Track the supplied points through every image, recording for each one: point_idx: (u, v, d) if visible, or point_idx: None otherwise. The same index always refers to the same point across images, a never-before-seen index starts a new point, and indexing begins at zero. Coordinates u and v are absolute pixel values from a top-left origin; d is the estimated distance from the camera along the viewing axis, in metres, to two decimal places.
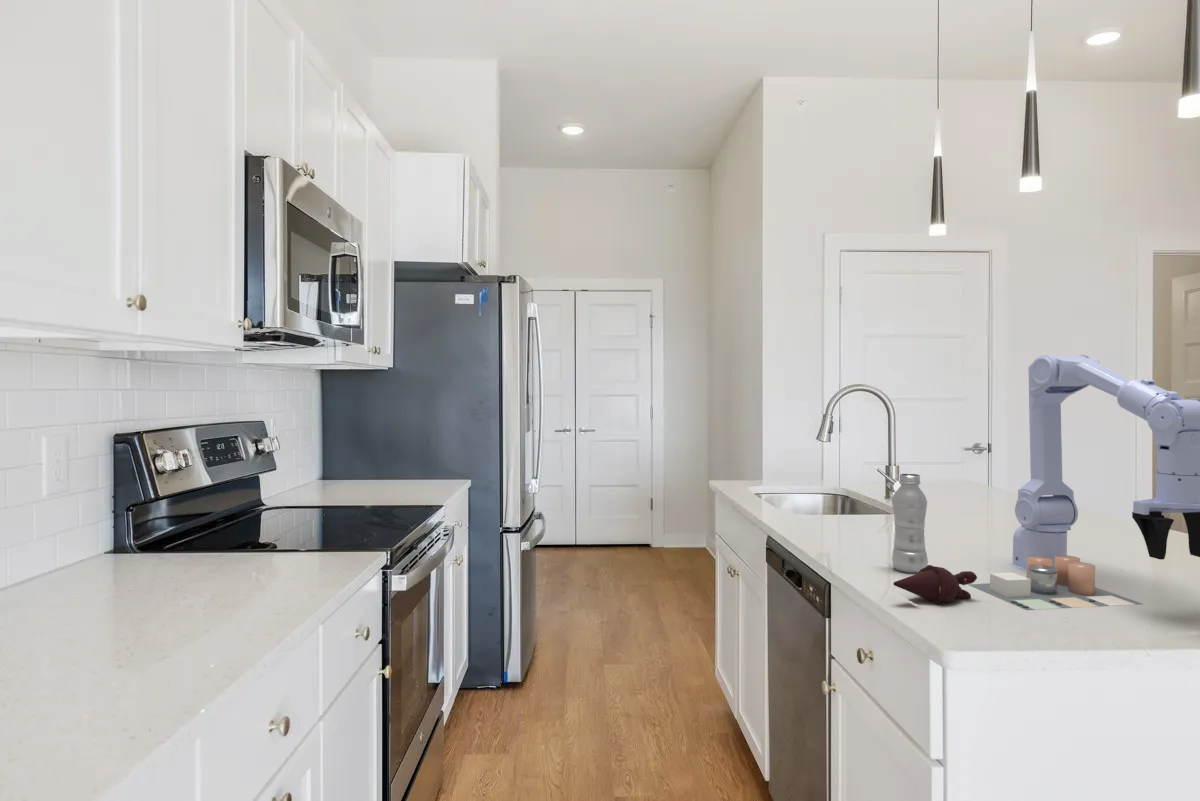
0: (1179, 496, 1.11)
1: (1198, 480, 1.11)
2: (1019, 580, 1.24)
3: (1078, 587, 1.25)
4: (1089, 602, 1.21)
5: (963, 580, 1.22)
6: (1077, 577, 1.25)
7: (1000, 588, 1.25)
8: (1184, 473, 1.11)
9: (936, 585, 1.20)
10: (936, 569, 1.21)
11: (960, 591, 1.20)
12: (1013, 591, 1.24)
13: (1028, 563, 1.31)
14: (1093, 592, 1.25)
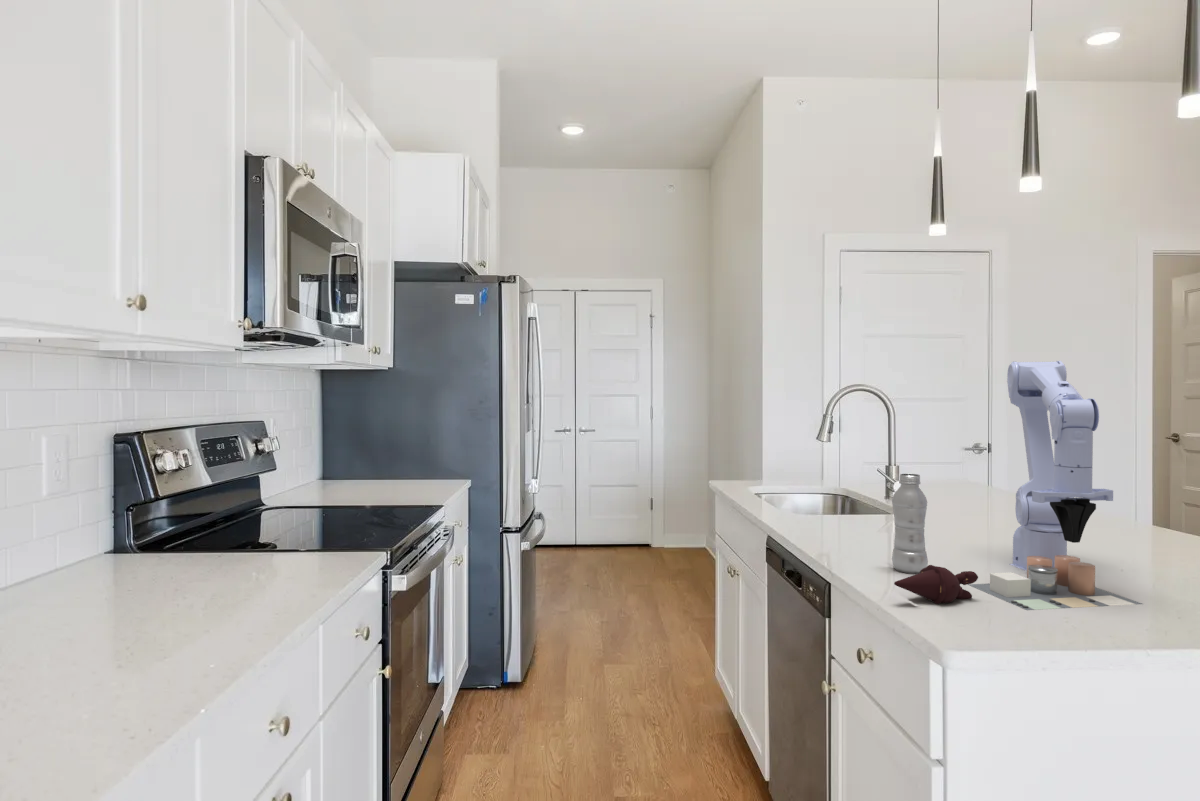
0: (1071, 486, 1.23)
1: (1088, 472, 1.23)
2: (1019, 580, 1.24)
3: (1078, 587, 1.25)
4: (1089, 602, 1.21)
5: (964, 580, 1.22)
6: (1077, 577, 1.25)
7: (1000, 588, 1.25)
8: (1067, 465, 1.24)
9: (937, 585, 1.20)
10: (937, 569, 1.21)
11: (961, 591, 1.20)
12: (1013, 591, 1.24)
13: (1028, 563, 1.31)
14: (1093, 592, 1.25)
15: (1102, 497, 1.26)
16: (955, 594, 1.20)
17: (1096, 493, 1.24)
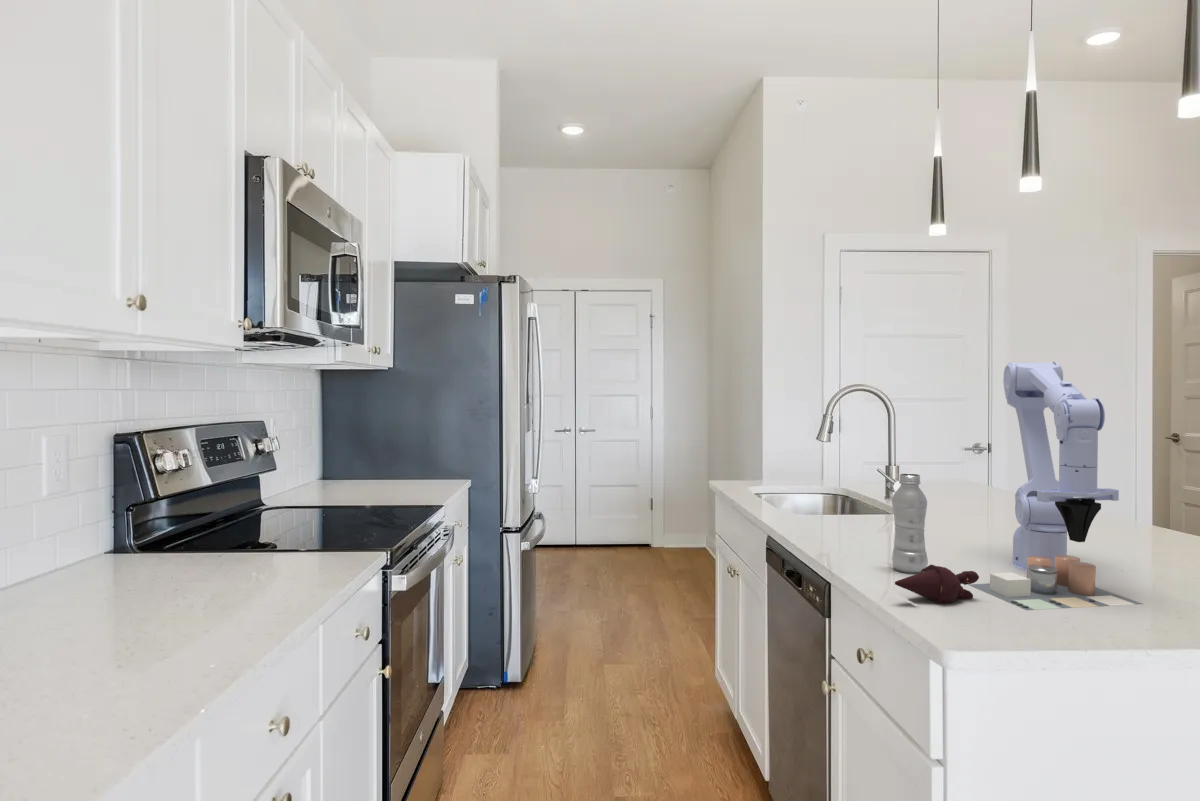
0: (1076, 486, 1.24)
1: (1093, 471, 1.23)
2: (1019, 580, 1.24)
3: (1078, 587, 1.25)
4: (1089, 602, 1.21)
5: (965, 580, 1.22)
6: (1077, 577, 1.25)
7: (1000, 588, 1.25)
8: (1073, 465, 1.24)
9: (937, 584, 1.20)
10: (937, 569, 1.21)
11: (962, 591, 1.21)
12: (1013, 591, 1.24)
13: (1028, 563, 1.31)
14: (1093, 592, 1.25)
15: (1107, 497, 1.27)
16: (956, 594, 1.20)
17: (1101, 493, 1.24)
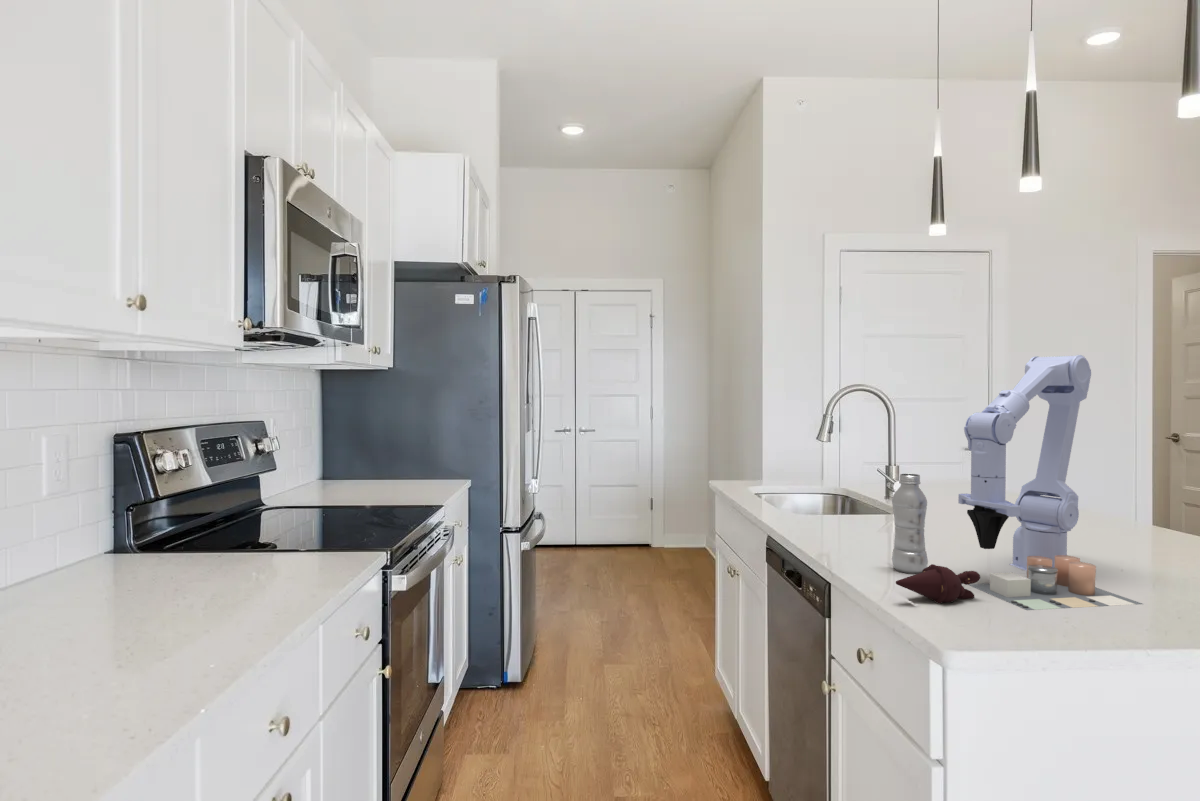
0: None
1: (976, 480, 1.31)
2: (1019, 580, 1.24)
3: (1079, 587, 1.25)
4: (1089, 602, 1.21)
5: (966, 580, 1.22)
6: (1078, 577, 1.25)
7: (1000, 588, 1.25)
8: (972, 474, 1.32)
9: (938, 584, 1.20)
10: (939, 568, 1.21)
11: (963, 590, 1.21)
12: (1013, 591, 1.24)
13: (1028, 563, 1.31)
14: (1093, 592, 1.25)
15: None
16: (957, 594, 1.20)
17: (986, 503, 1.29)
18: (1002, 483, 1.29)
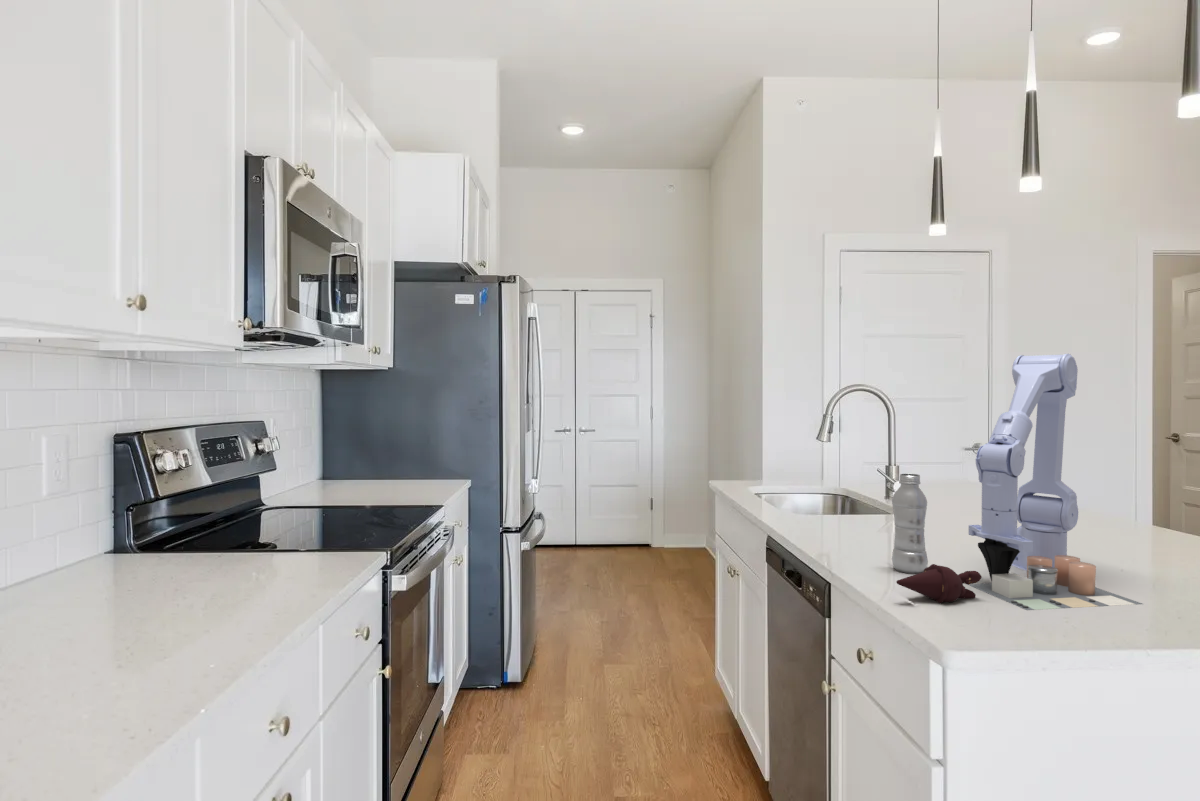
0: None
1: (987, 513, 1.28)
2: (1021, 581, 1.23)
3: (1079, 587, 1.25)
4: (1089, 602, 1.21)
5: (967, 579, 1.22)
6: (1078, 577, 1.25)
7: (1002, 588, 1.25)
8: (984, 507, 1.29)
9: (939, 584, 1.20)
10: (939, 568, 1.22)
11: (964, 590, 1.21)
12: (1015, 592, 1.23)
13: (1028, 563, 1.31)
14: (1093, 592, 1.25)
15: None
16: (957, 593, 1.20)
17: (997, 537, 1.26)
18: (1014, 516, 1.26)
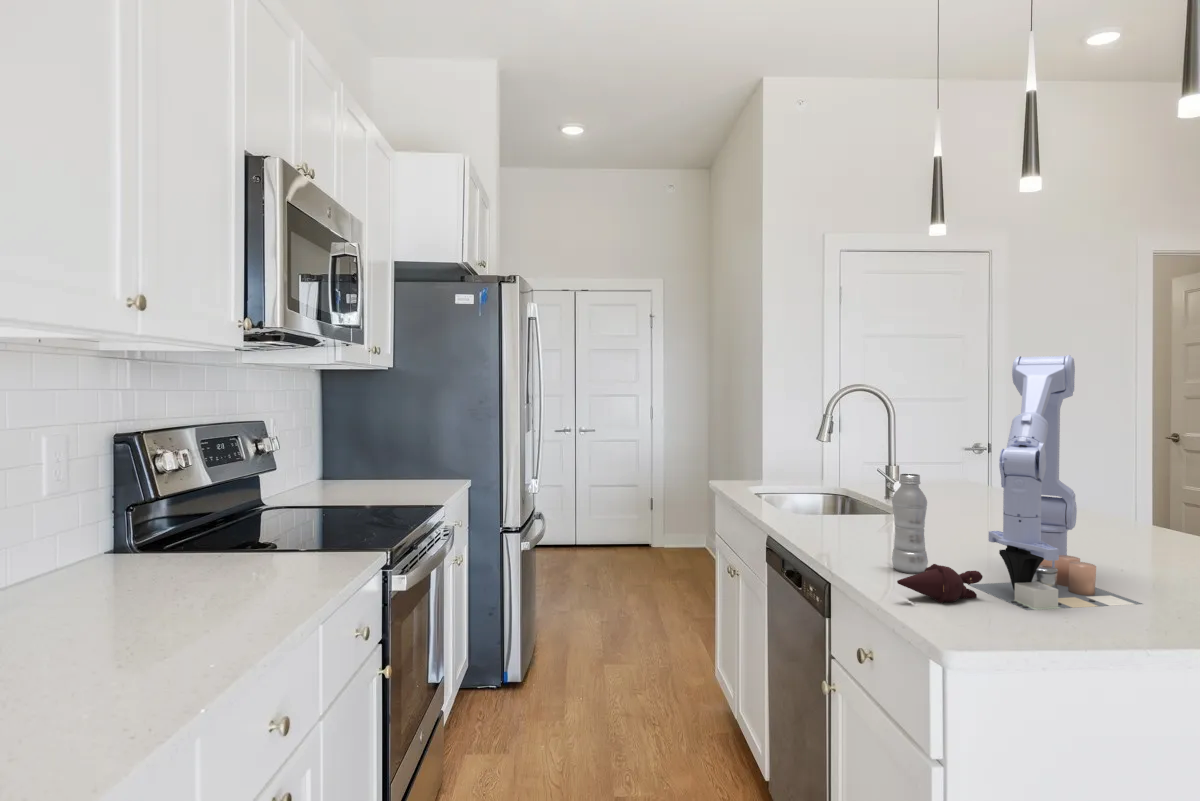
0: None
1: (1009, 519, 1.22)
2: (1046, 590, 1.18)
3: (1080, 587, 1.25)
4: (1089, 602, 1.21)
5: (968, 579, 1.22)
6: (1079, 577, 1.25)
7: (1026, 598, 1.19)
8: (1009, 513, 1.22)
9: (940, 584, 1.20)
10: (940, 568, 1.22)
11: (965, 590, 1.21)
12: (1039, 602, 1.18)
13: None
14: (1094, 592, 1.25)
15: None
16: (958, 593, 1.20)
17: (1020, 544, 1.20)
18: (1038, 523, 1.21)
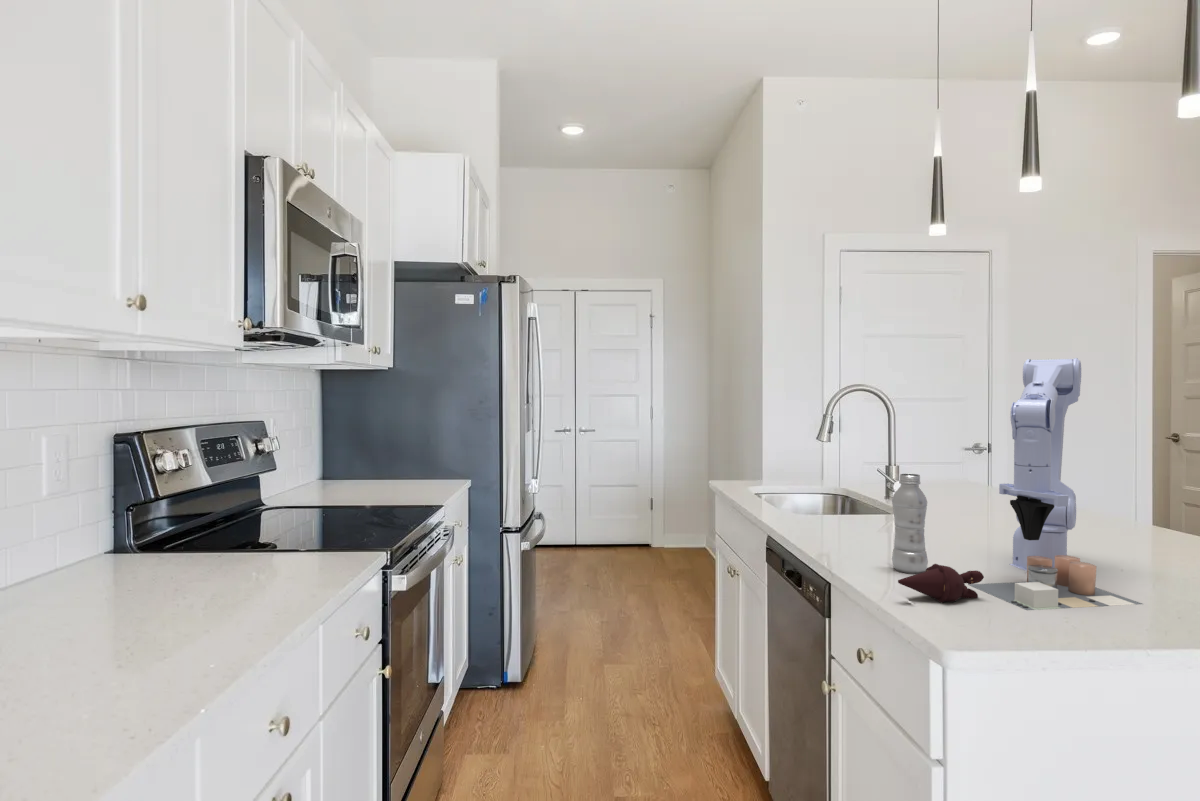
0: None
1: (1020, 469, 1.26)
2: (1046, 590, 1.18)
3: (1081, 587, 1.25)
4: (1089, 602, 1.21)
5: (969, 579, 1.22)
6: (1080, 577, 1.25)
7: (1026, 598, 1.19)
8: (1020, 463, 1.26)
9: (940, 583, 1.21)
10: (941, 568, 1.22)
11: (965, 590, 1.21)
12: (1039, 602, 1.18)
13: (1028, 563, 1.31)
14: (1094, 592, 1.25)
15: None
16: (959, 593, 1.20)
17: (1031, 493, 1.24)
18: (1048, 472, 1.25)
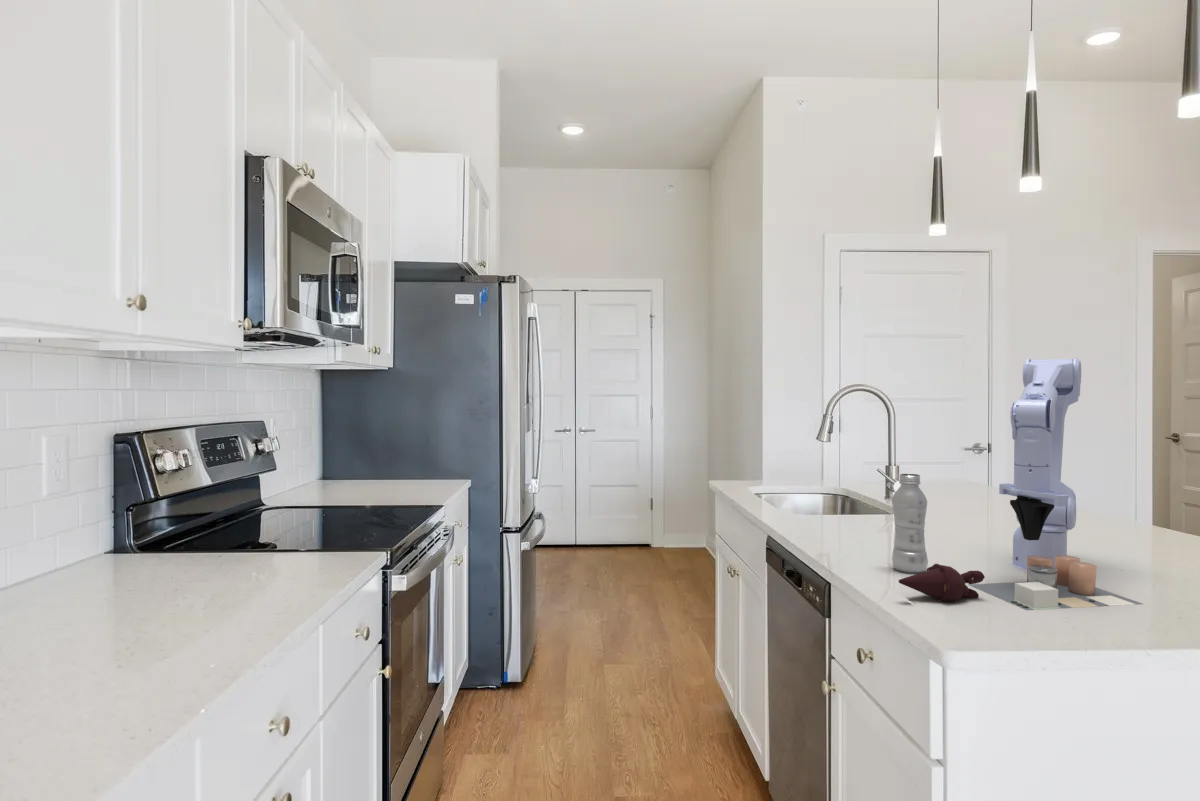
0: None
1: (1020, 469, 1.26)
2: (1046, 590, 1.18)
3: (1081, 587, 1.25)
4: (1089, 602, 1.21)
5: (970, 579, 1.22)
6: (1080, 577, 1.25)
7: (1026, 598, 1.19)
8: (1020, 463, 1.26)
9: (941, 583, 1.21)
10: (942, 568, 1.22)
11: (966, 590, 1.21)
12: (1039, 602, 1.18)
13: (1028, 563, 1.31)
14: (1094, 592, 1.25)
15: None
16: (960, 593, 1.20)
17: (1031, 493, 1.24)
18: (1048, 472, 1.25)
